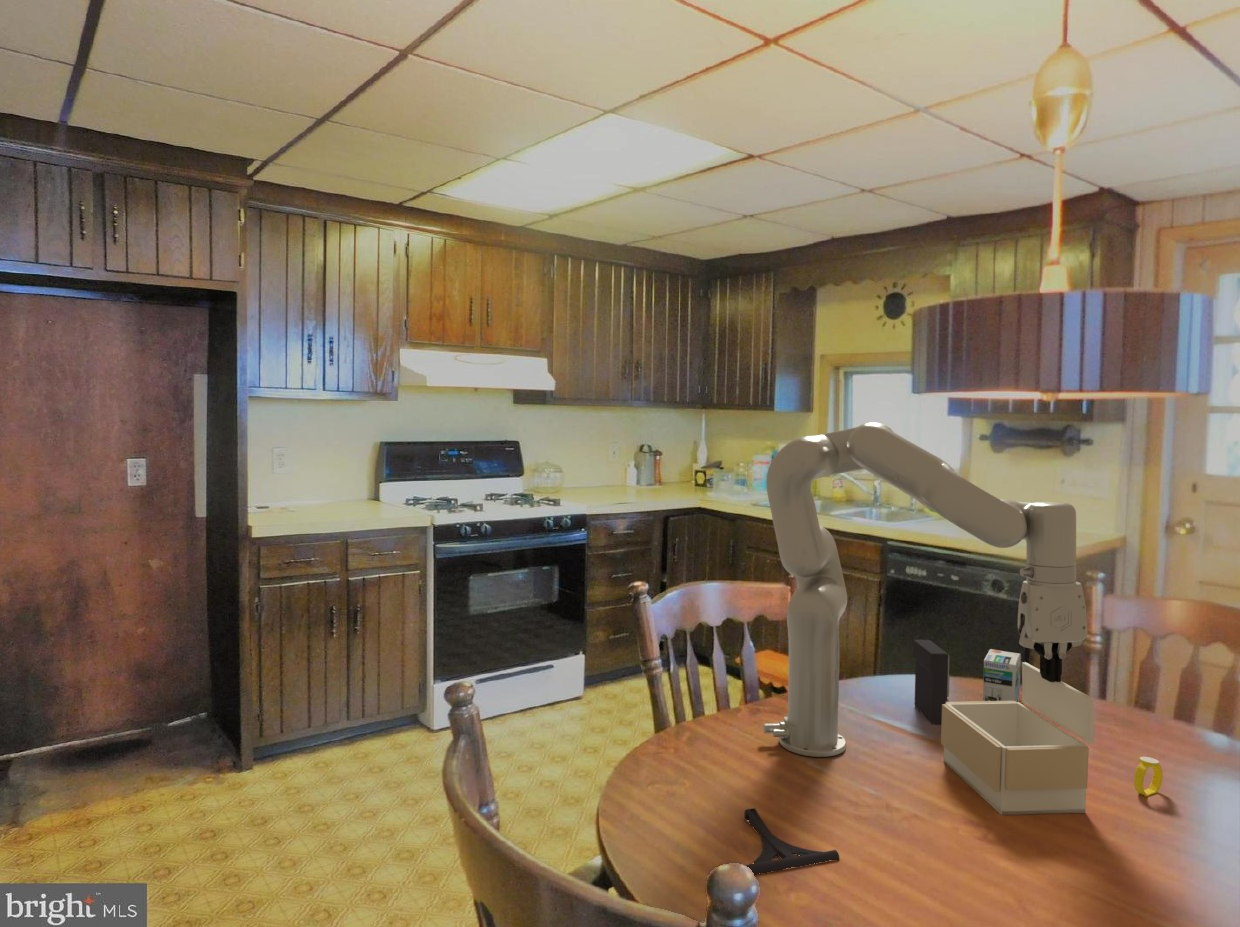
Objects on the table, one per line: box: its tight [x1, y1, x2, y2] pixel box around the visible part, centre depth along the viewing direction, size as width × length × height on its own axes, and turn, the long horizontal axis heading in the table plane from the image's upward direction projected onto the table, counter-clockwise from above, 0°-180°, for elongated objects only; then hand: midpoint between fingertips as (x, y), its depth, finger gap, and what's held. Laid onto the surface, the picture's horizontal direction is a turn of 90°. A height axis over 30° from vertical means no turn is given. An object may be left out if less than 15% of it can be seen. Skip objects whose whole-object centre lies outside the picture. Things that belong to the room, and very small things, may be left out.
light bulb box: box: [982, 648, 1022, 703], centre depth 179 cm, size 11×7×11 cm, turn 149°
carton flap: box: [1021, 661, 1095, 745], centre depth 139 cm, size 7×19×1 cm
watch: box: [1133, 756, 1163, 797], centre depth 137 cm, size 6×3×6 cm, turn 118°
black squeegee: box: [743, 807, 840, 876], centre depth 121 cm, size 14×15×3 cm
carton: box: [940, 700, 1090, 816], centre depth 139 cm, size 15×22×11 cm
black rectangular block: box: [912, 639, 951, 725], centre depth 172 cm, size 11×4×15 cm, turn 179°
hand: (1050, 679), depth 139 cm, fingers closed
